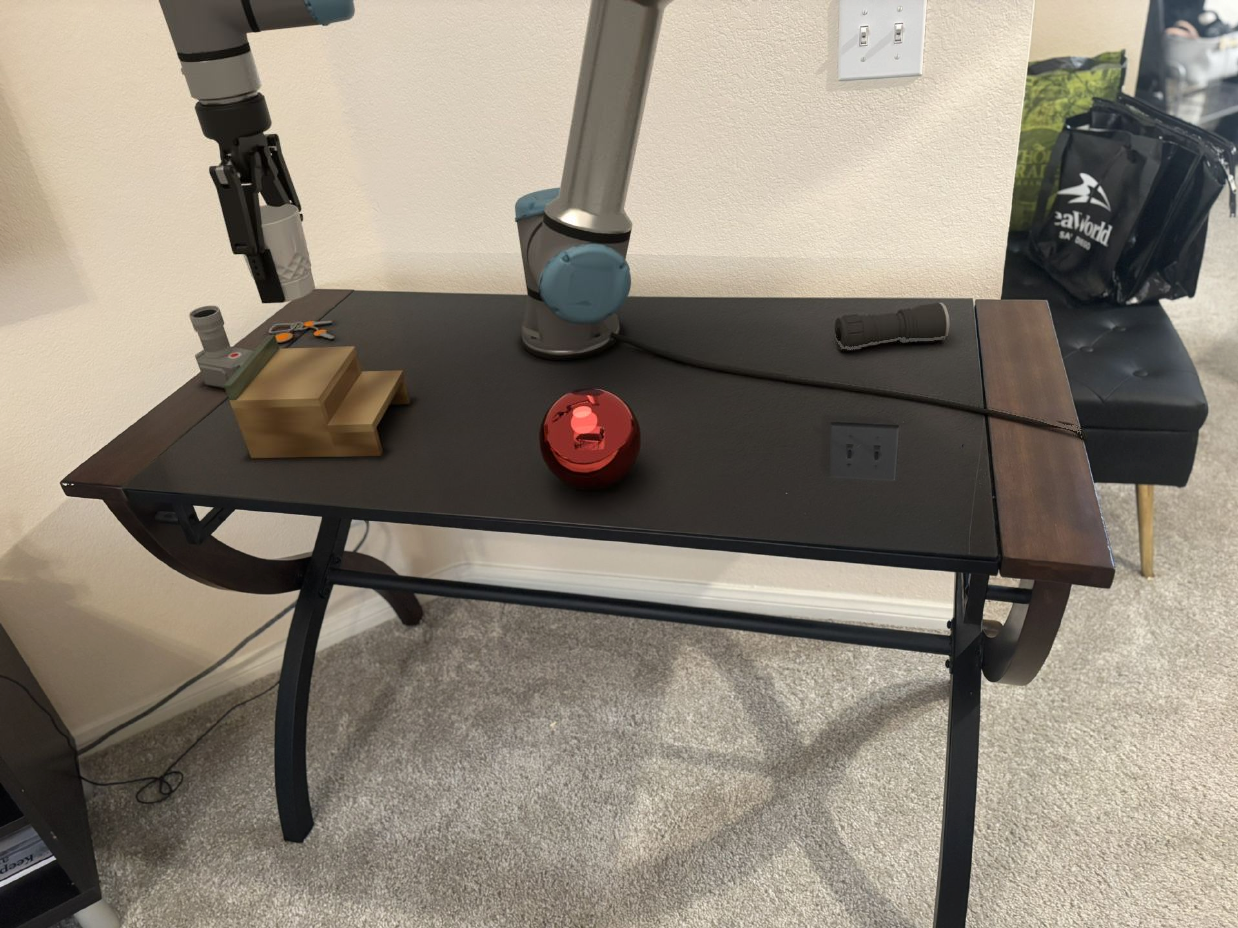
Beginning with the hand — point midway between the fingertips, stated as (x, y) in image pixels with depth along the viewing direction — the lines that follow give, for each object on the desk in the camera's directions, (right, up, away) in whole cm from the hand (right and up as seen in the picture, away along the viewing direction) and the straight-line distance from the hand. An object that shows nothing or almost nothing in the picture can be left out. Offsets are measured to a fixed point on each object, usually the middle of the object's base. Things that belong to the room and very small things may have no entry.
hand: (287, 287), depth 114 cm
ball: (+39, -24, -3) cm, 46 cm away
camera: (-15, -10, +25) cm, 30 cm away
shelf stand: (+2, -17, +12) cm, 21 cm away
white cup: (0, -1, 0) cm, 1 cm away
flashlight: (+81, -5, +18) cm, 83 cm away
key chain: (-11, 0, +38) cm, 40 cm away
